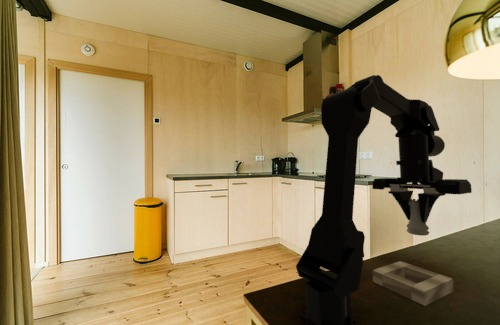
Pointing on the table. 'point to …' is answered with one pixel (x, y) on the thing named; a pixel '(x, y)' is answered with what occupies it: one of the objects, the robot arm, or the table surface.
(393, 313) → the table surface
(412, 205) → the rook chess piece
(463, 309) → the table surface
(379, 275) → the socket collar
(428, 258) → the table surface
